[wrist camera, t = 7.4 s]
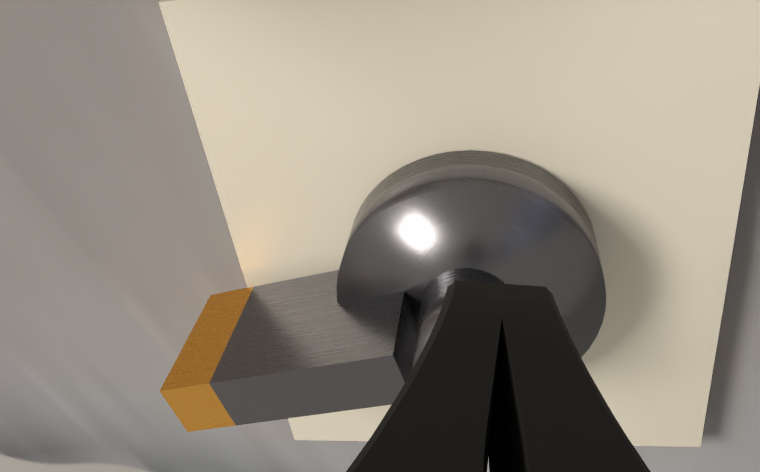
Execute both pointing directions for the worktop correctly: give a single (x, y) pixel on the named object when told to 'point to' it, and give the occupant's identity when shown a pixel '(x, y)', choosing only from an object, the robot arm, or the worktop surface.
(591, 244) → the lever door handle
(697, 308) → the console plate
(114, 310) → the worktop surface
